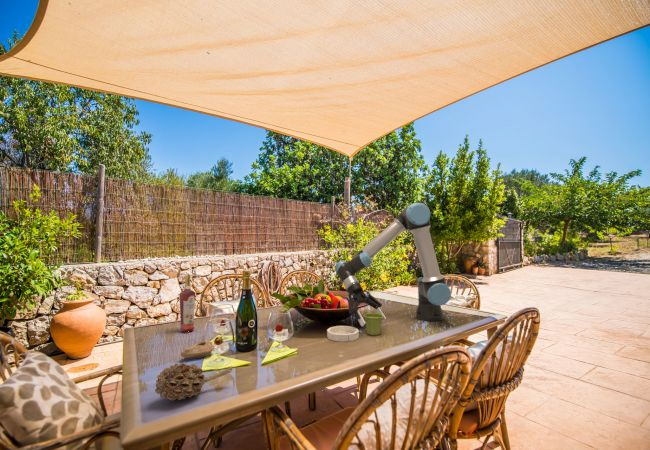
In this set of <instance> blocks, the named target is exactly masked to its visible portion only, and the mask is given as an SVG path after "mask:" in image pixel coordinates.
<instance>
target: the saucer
mask: <svg viewBox="0 0 650 450" xmlns="http://www.w3.org/2000/svg"><path fill="white" fill-rule="evenodd" d="M326 336H327V339H328V340H330V341H333V342H339V343H341V342H342V343H347V342H354V341H356V340H358V339H359V337H360V330H359V329H358V328H357V327H354V326H351V325H336V326H331V327H330V326H329V328H327V329H326Z"/></svg>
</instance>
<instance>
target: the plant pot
mask: <svg viewBox="0 0 650 450" xmlns="http://www.w3.org/2000/svg"><path fill="white" fill-rule="evenodd" d="M363 318H364V321H365V322H366V323H365V328H366V334H367V335H369V336H378V335H380V334H381V327H382V323H383V322H382V318H383V315H382V314H378V313H377V312H367V313H364V314H363Z"/></svg>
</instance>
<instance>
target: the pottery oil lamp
mask: <svg viewBox="0 0 650 450" xmlns="http://www.w3.org/2000/svg"><path fill="white" fill-rule="evenodd" d="M214 349H215V346H214V344H213V341H205V340H200V341H198V342H196V343H194V344H193V345H191V346H189V347H187V348H185V349H183V350H182V351H181V352H180V357H182V358H185V359H188V358H189V359H190V358H195V359H201V358H205V357H206V356H207V355H209V354H210V353H212V352H213V351H214ZM205 355H206V356H205ZM204 356H205V357H204Z"/></svg>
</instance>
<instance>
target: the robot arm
mask: <svg viewBox="0 0 650 450" xmlns="http://www.w3.org/2000/svg"><path fill="white" fill-rule="evenodd" d="M430 210H431V209H430V208H429V207H428V206H427V205H426V204H424V203H422V202H415V203H412V204H409V205H407V206H406V207H404V208H403V209H402V211H401V212H400V213H399V214H398V215H397V216H396V217H395V218H394V219H393V222H392V223H390V224H389V225H388V226H387V227H386V228H384V230H382V231H381V232H380V233H378V234H377V235H376V236H375V237H374V238H373V239H372V240H371V241H370V242H368V243H367V244H366V245H365V246H363V247H362V248H361V249H360V250H359V251H358V252H357V253H355V254H354V255H353V256H352V258H351V259H350V260H349V261H346V260H339V261H337V263H335V265H334V270H335V272H336V275H337V277H338V278H339V280H340V281H341V283H342V284H343V286H344V288H345V291H346V292H347V293H348V295H347V296H346V300H347V303H348V313H349V315H352V316H354V317H355V319H356V320H357V321H358V323H359V325H360V326H361V327H364V326H366V321H365V318H364V316H362V314H361V312H360V311H359V310H358V308H359V304H361V303H362V304H363V303H364V304H367V305H368V306H370V307H371V308H373V309H374V310H375V313H378V314H382V315H383V318H382V322H381V323H384V322H385V320H386V319H387V317H386V316H385V314H384V311H383V310H382V309H381V307H382V306H383V304H382V303H381V302H380V301H378V299H376V298H375V297H374V296H373V295H372V294H371V292H369V291H367V292H366V293H365V292H364V289H363V287H362V285H361V284H360V282H359V280H358V279H357V277H356V274H357V273H359V272H361V271H363V270H364V269H366V268H367V267H369V266H370V265H372V264H373V260H372V259H373V258H374V257H375V256H376V255H377V254H379V253H380V252H381V251H382V250H383V249H384V248H385V247H387V246H388V245H389V244H390V243H391V242H392V241H394V240H395V239H396V238H397V237H399V236H400V235H401V234H402V233H403V232H407V231H409V232H410V233H411V234H412V236H413V240H414V245H415V247H416V248H415V249H416V251H417V256H418V261H419V264H420V268H421V272H422V276H421V277H418V278H417V290H418V291H417V297H418V304H417V307H416V311H415V318H416V319H418V320H421V321H426V322H427V321H428V322H439V321H443V320H444V317H445V316H444V315H445V314H444V313H443V310H442V306H443V305H444V306H445V305H446V304H447V303H449V302H450V300H451V297H452V291H451V288H450V287H449V286H448V284H447V282H446V278H445V275H443V274H441V270H440V267H439V263H438V260H437V256H436V251H435V249H434V248H435V247H434V244H433V240H432V236H431V233H430V228H431V225H432V223H431V219H430V218H431V211H430Z"/></svg>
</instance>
